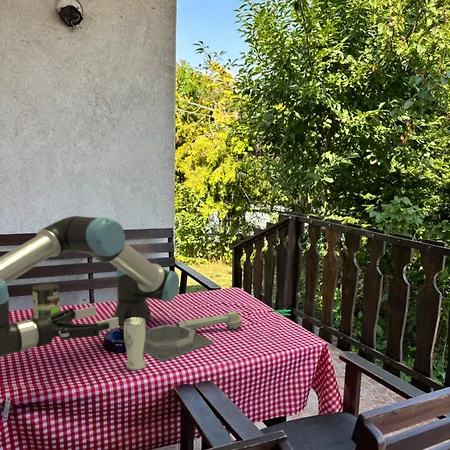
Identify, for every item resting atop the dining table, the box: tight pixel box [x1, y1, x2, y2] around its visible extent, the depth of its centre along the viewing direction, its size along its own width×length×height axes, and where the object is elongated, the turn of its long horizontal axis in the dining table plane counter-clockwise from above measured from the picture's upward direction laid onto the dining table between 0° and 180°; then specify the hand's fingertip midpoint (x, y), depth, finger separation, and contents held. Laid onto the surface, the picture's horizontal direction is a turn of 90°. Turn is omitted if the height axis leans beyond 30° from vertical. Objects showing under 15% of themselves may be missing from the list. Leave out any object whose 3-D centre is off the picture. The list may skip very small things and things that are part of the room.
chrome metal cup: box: [123, 317, 147, 371], centre depth 143 cm, size 7×7×15 cm
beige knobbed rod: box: [176, 310, 243, 331], centre depth 174 cm, size 5×7×25 cm
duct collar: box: [144, 324, 214, 362], centre depth 163 cm, size 22×22×3 cm
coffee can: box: [31, 282, 61, 319], centre depth 185 cm, size 10×10×14 cm
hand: (106, 316), depth 135 cm, fingers open, 13 cm apart
